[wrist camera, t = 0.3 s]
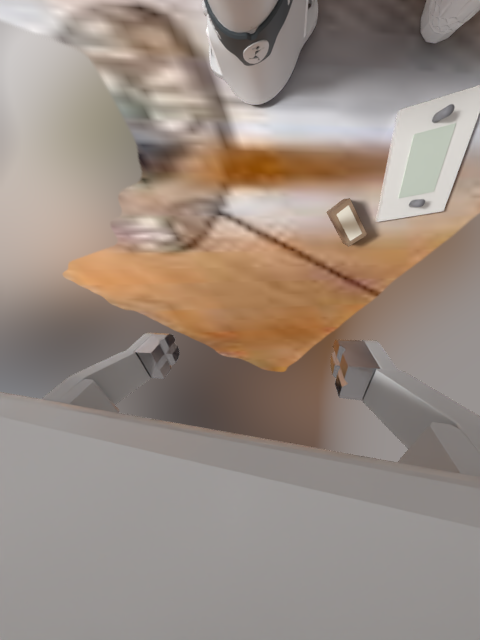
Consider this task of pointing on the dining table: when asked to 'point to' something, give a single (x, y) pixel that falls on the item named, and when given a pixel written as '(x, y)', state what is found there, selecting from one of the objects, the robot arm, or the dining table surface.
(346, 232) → the walnut frame
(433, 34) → the pale white cylinder
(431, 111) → the wall panel
